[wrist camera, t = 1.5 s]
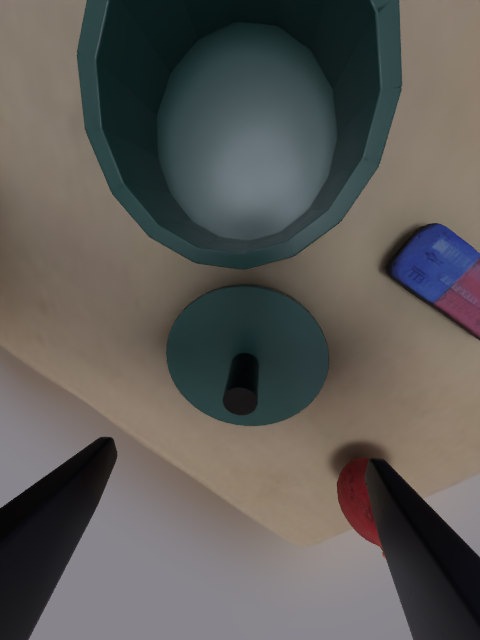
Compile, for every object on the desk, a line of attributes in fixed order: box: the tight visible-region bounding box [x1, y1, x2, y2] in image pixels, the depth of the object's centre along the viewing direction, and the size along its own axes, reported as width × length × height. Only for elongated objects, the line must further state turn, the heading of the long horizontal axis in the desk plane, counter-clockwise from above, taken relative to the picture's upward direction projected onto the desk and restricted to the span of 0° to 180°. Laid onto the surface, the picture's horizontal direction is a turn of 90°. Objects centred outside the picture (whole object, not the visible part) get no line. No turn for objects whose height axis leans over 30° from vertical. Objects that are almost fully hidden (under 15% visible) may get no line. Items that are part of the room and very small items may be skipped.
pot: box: [77, 0, 402, 270], centre depth 13 cm, size 13×13×6 cm
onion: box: [337, 458, 386, 558], centre depth 22 cm, size 6×6×8 cm
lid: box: [166, 285, 329, 426], centre depth 19 cm, size 14×14×6 cm
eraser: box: [385, 223, 480, 340], centre depth 17 cm, size 11×4×2 cm, turn 58°
